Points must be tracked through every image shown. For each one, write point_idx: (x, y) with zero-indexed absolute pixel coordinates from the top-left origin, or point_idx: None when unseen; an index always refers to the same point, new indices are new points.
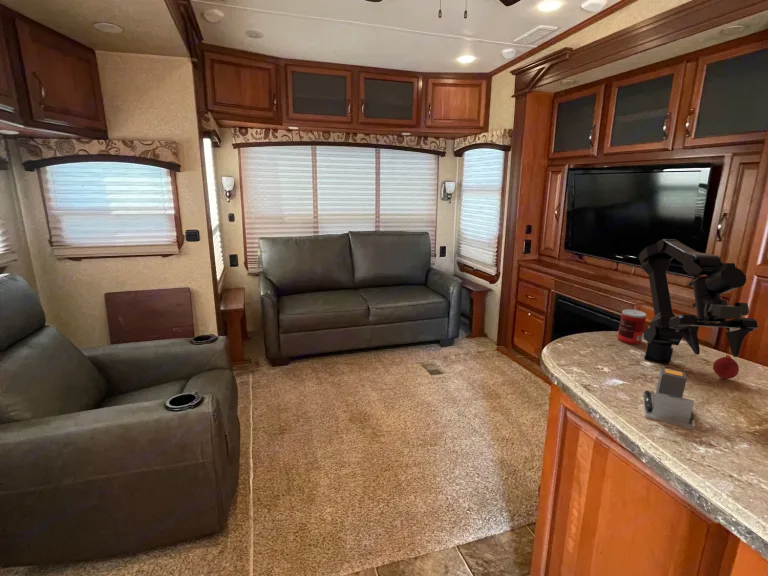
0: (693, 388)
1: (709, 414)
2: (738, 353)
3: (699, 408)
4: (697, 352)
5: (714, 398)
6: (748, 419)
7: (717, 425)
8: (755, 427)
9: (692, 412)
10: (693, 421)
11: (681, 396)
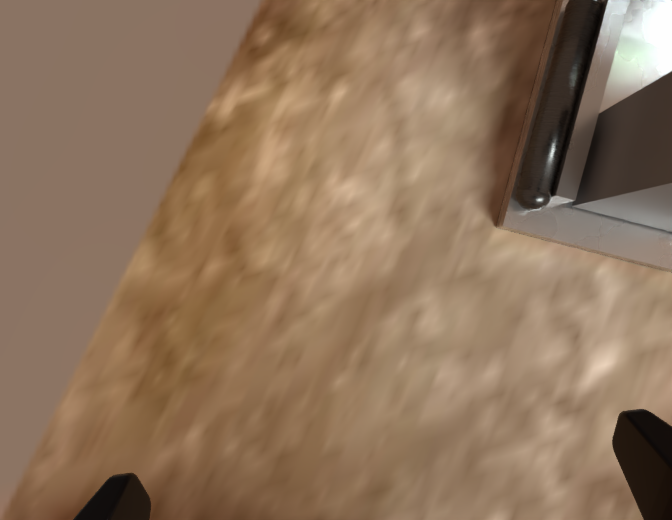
0: (369, 466)
1: (413, 163)
2: (89, 506)
3: (439, 217)
4: (661, 423)
5: (302, 367)
6: (232, 170)
7: (423, 55)
8: (239, 95)
9: (566, 43)
10: (564, 4)
11: (651, 86)
